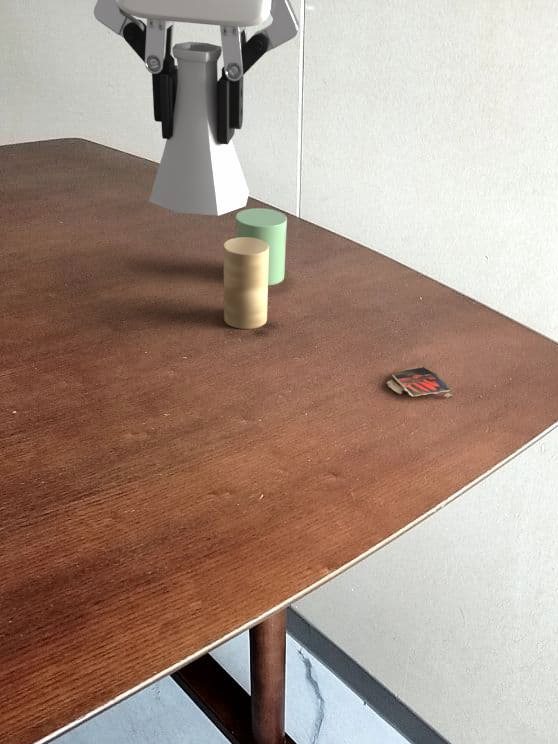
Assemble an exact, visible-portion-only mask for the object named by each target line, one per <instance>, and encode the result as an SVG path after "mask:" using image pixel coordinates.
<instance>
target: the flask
mask: <svg viewBox="0 0 558 744" xmlns="http://www.w3.org/2000/svg"><path fill="white" fill-rule="evenodd" d="M222 53H223V50H222V45H217V44H212V43H208V42H200V41H198V42H197V41H185V42H179V43H175V44H173V49H172V57H173V58H174V59H175V60H176V63H177V68H178V86H177V93H176V101H175V109H174V116H173V137H170V139H166V140H165V145H164V149H163V153H162V156H161V159H160V162H159V166H158V169H157V172H156V176H155V179H154V182H153V186H152V189H151V191H150V192H151V193H150V197H149V201H148V202H149V203H151V204H154V205H156V206H159V207H161V208H164V209H167V210H169V211H172V212H175V213H179V214H193V215H206V216H222V215H224V214H227V213H230V212H232V211H235V210H239V209H241V208H244V207H246V206H247V203H248V199H249V196H250V195H249V194H250V191H249V188H248V185H247V182H246V179H245V176H244V175H245V174H244V173H243V170H242V167H241V164H240V161H239V158H238V155H237V152H236V150H235V146H234V143H233V140H232V139H233V138H232V139H231V140H230V142H229V144H228V145H225V144H220V142H218V141H217V82H218V80H219V78H218V62H219V59H220V57H221V55H222Z"/></svg>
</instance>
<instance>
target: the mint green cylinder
mask: <svg viewBox="0 0 558 744" xmlns="http://www.w3.org/2000/svg"><path fill="white" fill-rule="evenodd" d="M287 228H288V217H287V215H286V214H284V213H283V212H281V211H278V210H275V209H270V208H263V207H262V208H261V207H260V208H259V207H257V208H256V207H253V208H247V209H243V210H240V211H239V212H237V214H236V215H235V238H239V237H250V238H256V239H260V240H262V241H265V242H266V243H267V244H268V245H269V266H268V287H269V286H274V285H278V284H280V283H282V282H283V281H284V279H285V278H286V277H285V275H286V251H287V231H288V230H287Z"/></svg>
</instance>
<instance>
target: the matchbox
mask: <svg viewBox="0 0 558 744" xmlns="http://www.w3.org/2000/svg"><path fill="white" fill-rule="evenodd" d="M392 377H393V379H394V380H393V379H390V380H388V381H387V382H386V384H387V386H386V387H389V389H390V388H391V390H392V391H394V392H396V393H397V394H400V395H401V394H403V391H404V392H407V394H408V395H409V396H410V397H415V398H416V397H418V396H419V397H420V396H427V395H431V394H437V395H438V394H439V393H445V392H446V394H443V397H445V398H449V397H453V396H454V395H455V396H456V395H457V393H453V392H452V393H451V392H450V391H452V387H451V386H450V385H448V383H447V382H446V381H444V380H443V379H442V378H440V376H439V375H438V374H437V373H436V372H434V371H432V370H429V369H427V368H426V367H425V366H419V365H418V366H417V367H412V368H410V367H409V368H406V369H402V370H400V371H399V372H395V373H394V374H392Z"/></svg>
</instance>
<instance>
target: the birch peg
mask: <svg viewBox="0 0 558 744" xmlns="http://www.w3.org/2000/svg"><path fill="white" fill-rule="evenodd" d="M268 266H269V245H268V244H267V243H266V242H265V241H262V240H260V239H256V238H250V237H239V238H236V237H234V238H230V239H227V240H226V241H225V242H224V243H223V320H224V322H225V323H226V324H227V325H228V326H231V327H233V328H235V329H236V328H237V329H241V330H247V329H248V330H252V329H257V328H260V327H262V326H264V325H266V323H267V320H268V297H269V294H268V293H269V286H268Z"/></svg>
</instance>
